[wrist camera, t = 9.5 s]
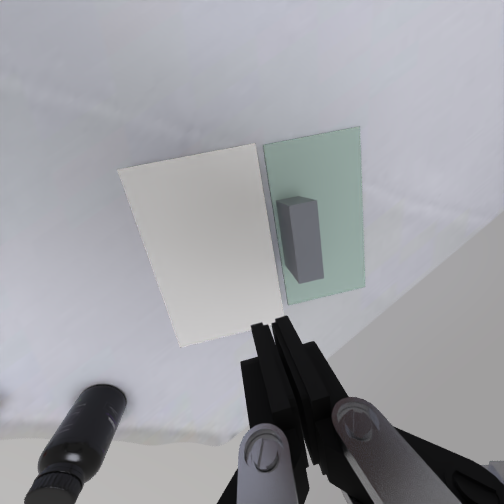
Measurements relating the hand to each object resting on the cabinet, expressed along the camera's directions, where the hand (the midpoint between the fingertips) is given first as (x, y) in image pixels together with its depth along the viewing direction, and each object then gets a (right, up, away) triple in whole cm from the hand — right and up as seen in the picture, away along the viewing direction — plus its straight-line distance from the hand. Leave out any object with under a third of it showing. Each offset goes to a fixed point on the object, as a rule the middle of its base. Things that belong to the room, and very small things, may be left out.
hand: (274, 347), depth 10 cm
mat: (+8, +8, +21) cm, 24 cm away
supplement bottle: (-24, -18, +26) cm, 39 cm away
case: (+3, +6, +18) cm, 19 cm away
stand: (-6, +5, +20) cm, 22 cm away
